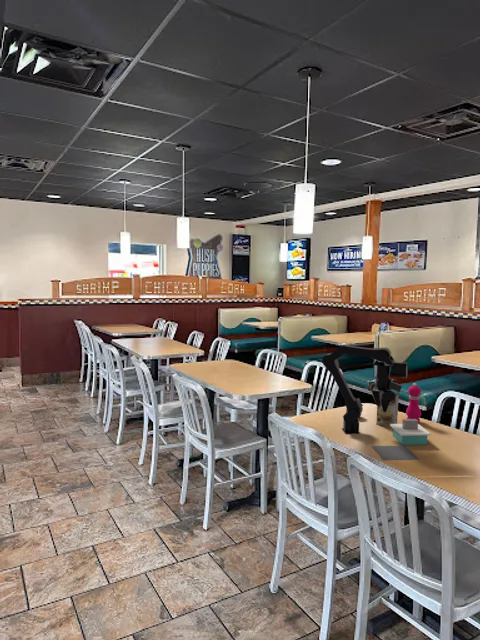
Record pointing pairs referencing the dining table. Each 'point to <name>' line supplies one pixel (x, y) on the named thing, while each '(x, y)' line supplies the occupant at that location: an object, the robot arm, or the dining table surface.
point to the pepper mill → (414, 403)
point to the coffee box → (388, 413)
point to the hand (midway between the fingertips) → (381, 408)
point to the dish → (410, 439)
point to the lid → (410, 428)
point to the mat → (395, 453)
